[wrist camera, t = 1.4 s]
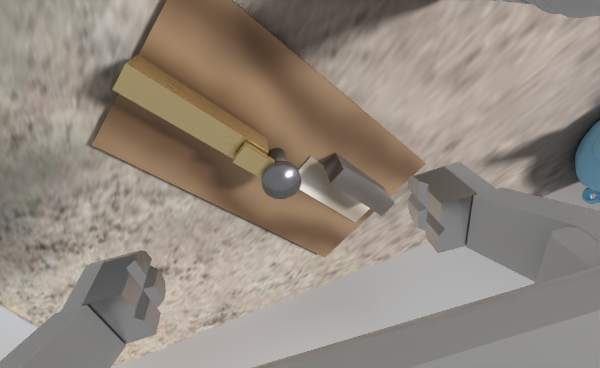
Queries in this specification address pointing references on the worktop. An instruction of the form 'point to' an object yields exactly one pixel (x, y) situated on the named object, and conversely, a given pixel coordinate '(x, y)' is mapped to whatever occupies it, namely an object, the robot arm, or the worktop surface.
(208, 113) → the swing bar
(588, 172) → the teapot
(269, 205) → the latch board
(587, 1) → the bottle
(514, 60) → the worktop surface
